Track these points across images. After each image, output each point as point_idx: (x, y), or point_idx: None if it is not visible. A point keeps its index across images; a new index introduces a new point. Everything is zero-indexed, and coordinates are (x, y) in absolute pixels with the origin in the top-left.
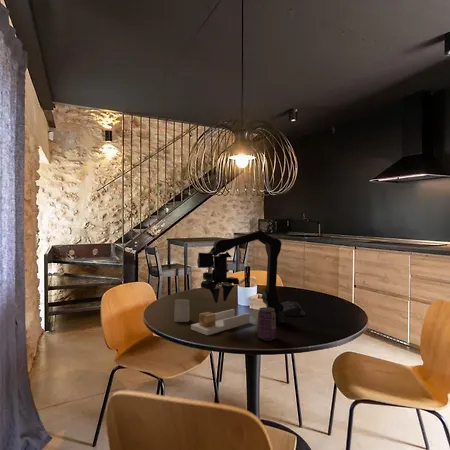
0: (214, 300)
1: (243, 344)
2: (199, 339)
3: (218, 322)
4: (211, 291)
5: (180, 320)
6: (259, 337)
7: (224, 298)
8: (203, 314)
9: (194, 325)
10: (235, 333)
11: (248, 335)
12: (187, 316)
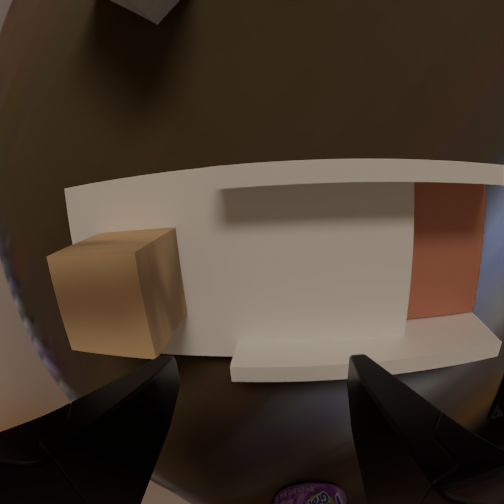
0: (139, 369)
1: (194, 479)
2: (65, 345)
3: (250, 273)
4: (3, 447)
5: (116, 2)
6: (275, 498)
7: (353, 399)
8: (64, 300)
9: (74, 217)
10: (256, 407)
11: (285, 451)
12: (136, 6)
